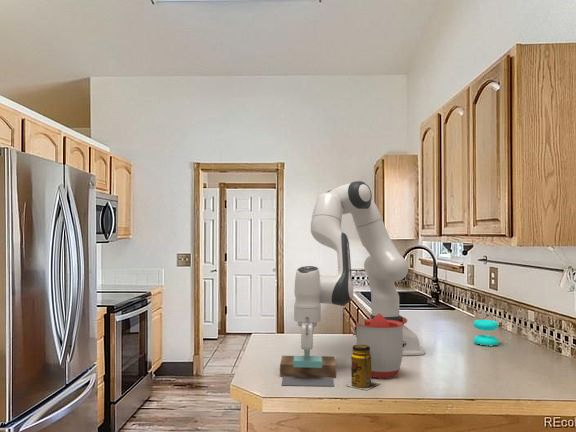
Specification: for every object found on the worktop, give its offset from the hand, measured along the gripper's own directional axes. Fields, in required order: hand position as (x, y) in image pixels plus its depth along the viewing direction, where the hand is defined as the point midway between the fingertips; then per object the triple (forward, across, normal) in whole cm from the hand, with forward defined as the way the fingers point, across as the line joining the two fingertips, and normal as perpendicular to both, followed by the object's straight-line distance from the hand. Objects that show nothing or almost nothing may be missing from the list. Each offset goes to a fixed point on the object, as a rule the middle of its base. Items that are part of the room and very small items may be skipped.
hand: (307, 357), depth 163 cm
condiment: (+6, -11, -17) cm, 22 cm away
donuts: (+5, +51, -76) cm, 92 cm away
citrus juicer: (+5, +2, -23) cm, 24 cm away
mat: (+5, -10, 0) cm, 11 cm away
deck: (+5, +2, 0) cm, 6 cm away
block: (+1, -4, 0) cm, 5 cm away
